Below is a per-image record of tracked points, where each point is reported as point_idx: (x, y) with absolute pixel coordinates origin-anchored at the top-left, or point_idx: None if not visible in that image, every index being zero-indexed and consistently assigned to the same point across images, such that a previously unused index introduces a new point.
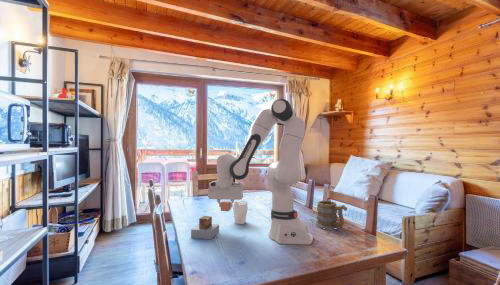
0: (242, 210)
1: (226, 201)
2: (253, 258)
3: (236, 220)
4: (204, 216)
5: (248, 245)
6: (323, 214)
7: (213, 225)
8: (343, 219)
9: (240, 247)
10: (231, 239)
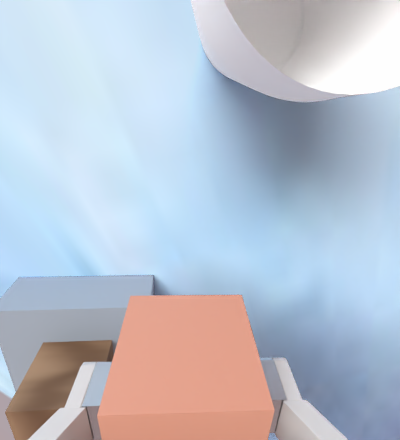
0: (357, 82)
1: (188, 435)
2: (355, 427)
3: (230, 78)
4: (28, 421)
5: (338, 365)
6: None
7: (119, 331)
8: None
9: (307, 386)
10: (255, 339)
